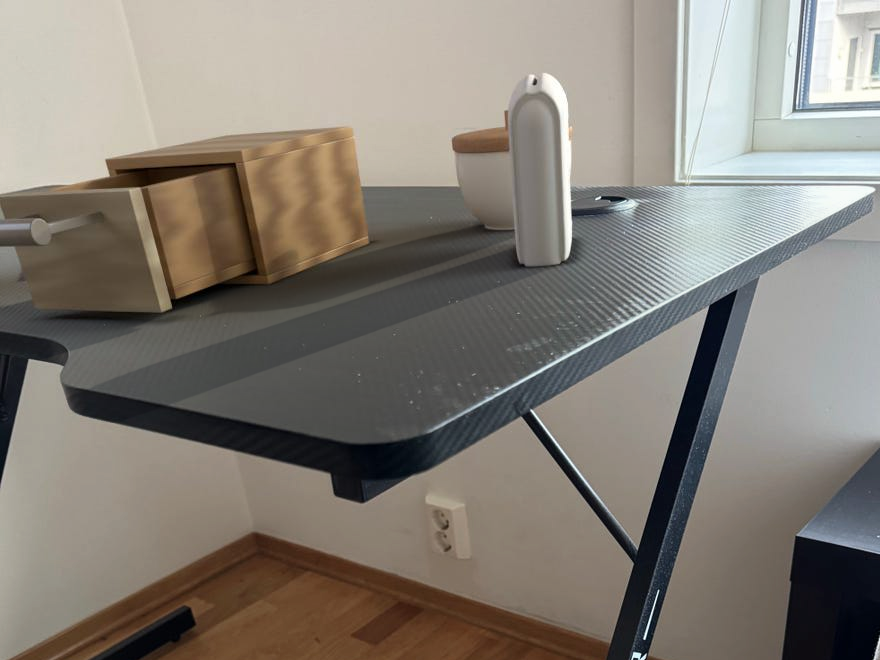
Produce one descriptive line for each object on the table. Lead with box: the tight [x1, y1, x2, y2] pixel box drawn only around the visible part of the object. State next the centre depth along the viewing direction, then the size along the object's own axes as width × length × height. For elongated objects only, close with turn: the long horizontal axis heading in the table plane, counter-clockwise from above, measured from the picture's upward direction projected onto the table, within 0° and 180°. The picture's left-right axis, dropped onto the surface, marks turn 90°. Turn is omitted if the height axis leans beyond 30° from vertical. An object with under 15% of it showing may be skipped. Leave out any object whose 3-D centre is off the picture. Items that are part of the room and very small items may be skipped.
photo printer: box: [507, 72, 573, 268], centre depth 70 cm, size 10×4×12 cm, turn 174°
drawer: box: [0, 163, 257, 314], centre depth 68 cm, size 21×12×8 cm, turn 155°
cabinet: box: [104, 125, 370, 285], centre depth 79 cm, size 16×14×10 cm
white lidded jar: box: [451, 109, 573, 231], centre depth 84 cm, size 11×11×9 cm
